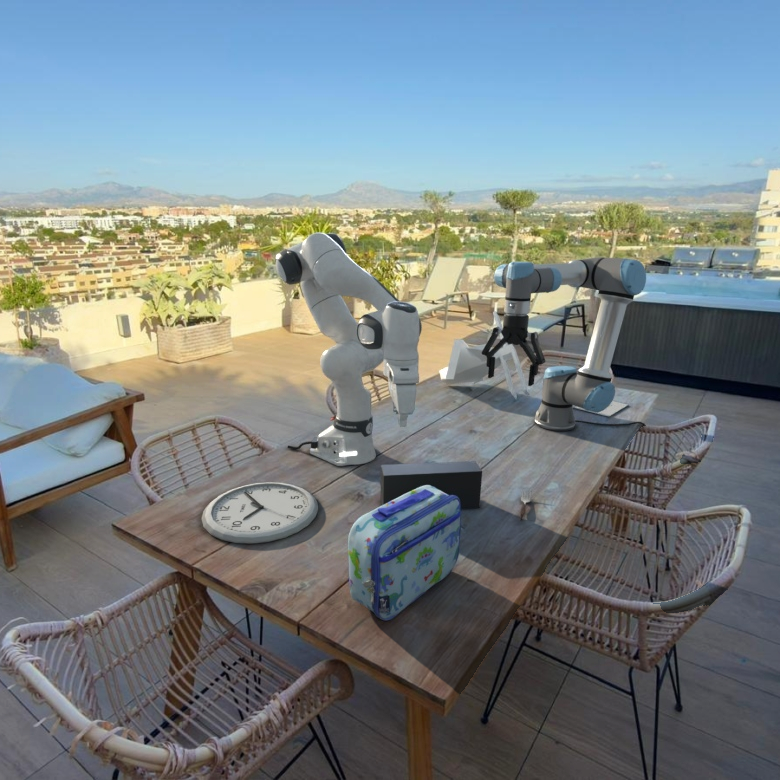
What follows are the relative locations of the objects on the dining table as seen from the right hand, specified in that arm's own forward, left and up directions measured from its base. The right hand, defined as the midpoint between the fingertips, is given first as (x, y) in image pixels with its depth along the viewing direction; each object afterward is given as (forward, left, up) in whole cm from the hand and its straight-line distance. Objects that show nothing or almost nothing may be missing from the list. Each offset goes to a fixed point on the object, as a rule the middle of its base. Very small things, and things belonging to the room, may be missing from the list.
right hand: (510, 381), depth 165 cm
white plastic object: (+5, -73, -27) cm, 78 cm away
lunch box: (+26, +70, -27) cm, 79 cm away
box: (+23, +34, -27) cm, 49 cm away
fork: (-3, +32, -27) cm, 42 cm away
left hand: (+32, +36, -2) cm, 48 cm away
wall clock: (+67, +44, -27) cm, 85 cm away
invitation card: (-47, -61, -27) cm, 82 cm away
